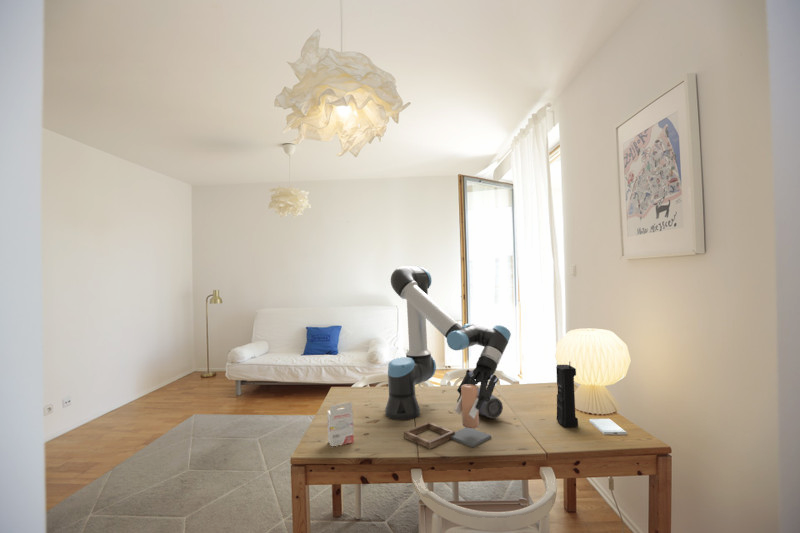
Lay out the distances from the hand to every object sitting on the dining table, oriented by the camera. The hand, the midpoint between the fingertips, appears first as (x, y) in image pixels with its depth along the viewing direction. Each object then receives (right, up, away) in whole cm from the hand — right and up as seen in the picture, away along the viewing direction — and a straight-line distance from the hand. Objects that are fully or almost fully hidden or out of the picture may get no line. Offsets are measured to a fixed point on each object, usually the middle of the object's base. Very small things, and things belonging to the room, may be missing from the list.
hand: (464, 414), depth 135 cm
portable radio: (+43, -9, +13) cm, 46 cm away
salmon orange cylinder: (+3, -5, +2) cm, 6 cm away
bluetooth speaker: (+12, -10, +28) cm, 32 cm away
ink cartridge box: (-45, -11, +2) cm, 46 cm away
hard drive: (+56, -9, +8) cm, 58 cm away
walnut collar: (-12, -10, +4) cm, 16 cm away
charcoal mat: (+2, -10, +2) cm, 10 cm away
